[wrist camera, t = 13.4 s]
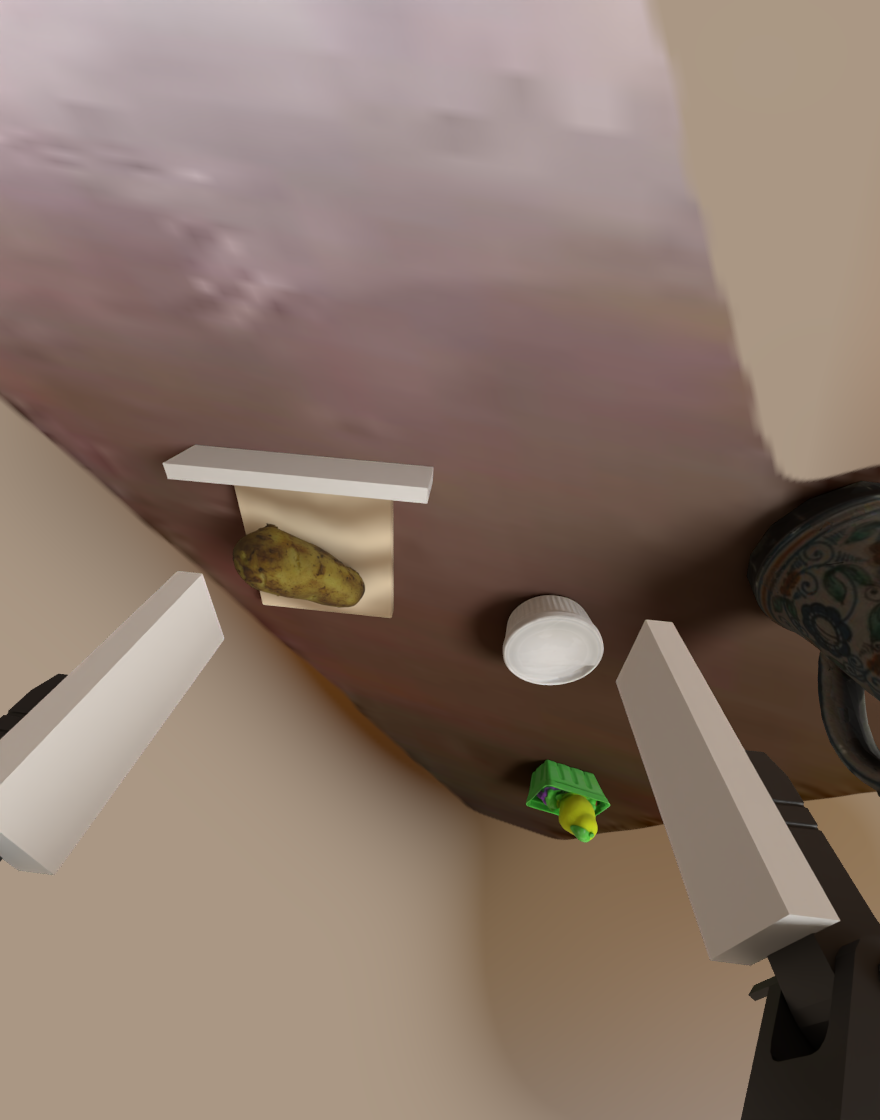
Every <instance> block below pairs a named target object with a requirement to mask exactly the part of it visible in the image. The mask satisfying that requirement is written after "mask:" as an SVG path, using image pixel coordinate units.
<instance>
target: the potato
mask: <svg viewBox="0 0 880 1120" xmlns="http://www.w3.org/2000/svg"><path fill="white" fill-rule="evenodd" d="M266 524H267V526H265V527H263V528H259V529H258V530H256V531H254V532H252V533H249V534H247V535H245V536H244V537H243V538H241V539H240V540H239V541H238V543H237V544H236V545H235V547H234V549H233V561H234V564H235V568H236V570H237V572H238V574H239V575H240V577H241V578H242V579H243V580H244V581H245V582H246V583H247V584H249V585H250V586H251V587H253V588H255V589H257V590H258V591H263V592H266V593H270V594H274V595H277V596H283V597H287V598H294V599H302V600H308V601H311V602H315V603H318V604H321V605H326V606H332V607H338V608H341V607H352V606H355V605H356V604H357V603H358V602H359V601H360V600H361V598H362V597H363V595H364V593H365V584H364V581H363V579H362V578H361V576H360V575H359V573H358V572H356V570H354V569H352V568H351V567H347V566H345V565H344V564H343V562H341V561H339V560H338V559H336V558H335V557H334V556H333V555H331V554H330V553H328V552H327V551H325V550H324V549H322V548H320V547H318V546H316V545H314V544H311V543H309V542H306V541H304V540H302V539H300V538H298V537H295V536H293V535H291V534H289V533H287V532H285V531H282V530H280V529H278V527H277V526H276V525H274V524H268V523H266Z"/></svg>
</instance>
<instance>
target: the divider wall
mask: <svg viewBox="0 0 880 1120" xmlns="http://www.w3.org/2000/svg"><path fill="white" fill-rule="evenodd" d="M163 466H164V469H165V472H166V475H167V478H168V479H176V480H186V481H197V482H207V483H218V484H228V485H239V486H249V487H259V488H270V489H280V490H291V491H301V492H312V493H322V494H333V495H343V496H354V497H364V498H374V499H385V500H395V501H406V502H416V503H427V502H428V498H429V494H430V490H431V486H432V482H433V467H429V466H418V465H408V464H397V463H386V462H375V461H364V460H354V459H343V458H332V457H321V456H310V455H300V454H289V453H278V452H267V451H256V450H246V449H235V448H224V447H213V446H202V445H194V446H192V447H190V448H188V449H187V450H185V451H183V452H181V453H180V454H178V455H176V456H174V457H173V458H171V459H169V460H167V461H166V462H164V463H163Z"/></svg>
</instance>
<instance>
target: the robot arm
mask: <svg viewBox="0 0 880 1120" xmlns="http://www.w3.org/2000/svg"><path fill="white" fill-rule="evenodd" d="M223 640H224V636H223V633H222V630H221V627H220V624H219V621H218V618H217V615H216V612H215V610H214V606H213V604H212V601H211V597H210V595H209V592H208V589H207V586H206V583H205V580H204V577H203V574H201V573H190V572H181V571H177V572H176V573H175V574H174V575H173V576H172V577H171V578H170V579H169V580H168V581H167V582H166V583H165V584H163V585H162V586H161V588H159V590H157V591H156V592H155V593H154V594H153V595H152V596H151V597H150V598H149V599H148V600H147V601H146V602H145V603H144V604H142V605H141V606H140V607H139V608H138V609H137V610H136V611H135V612H134V613H133V614H132V615H131V616H130V617H129V618H128V619H127V620H126V621H125V622H123V623H122V624H121V625H120V626H119V627H118V628H117V629H116V630H115V631H114V632H113V633H112V634H111V635H110V636H109V637H108V638H107V639H106V640H105V641H103V643H101V644H100V645H99V646H98V647H97V648H96V649H95V650H94V651H93V652H92V653H91V654H90V655H89V656H88V657H87V658H86V659H85V660H84V661H82V662H81V663H80V664H79V665H78V666H77V667H76V668H75V669H74V670H73V671H72V672H71V673H70V674H69V675H64V674H57V675H56V676H54V677H52V678H51V679H49V680H47V681H46V682H44V683H43V684H41V685H39V686H37V687H36V688H34V689H32V690H31V691H30V692H29V693H28V694H26V695H25V696H24V697H23V698H22V699H21V700H20V701H19V702H18V703H16V704H15V705H14V706H13V707H12V708H11V709H10V710H9V711H8V714H7V715H3V716H2V717H1V718H0V861H1V860H2V859H3V860H5V861H6V862H7V863H9V864H10V865H12V866H13V867H15V868H16V869H17V870H19V871H27V872H34V873H42V874H50V875H55V873H56V872H57V871H58V869H59V868H60V866H61V865H62V864H63V862H64V861H65V860H66V858H67V857H68V855H69V854H70V853H71V851H72V850H73V848H74V847H75V846H76V844H77V843H78V842H79V840H80V839H81V837H82V836H83V835H84V833H85V832H86V831H87V829H88V828H89V826H90V825H91V824H92V822H93V821H94V819H95V818H96V817H97V815H98V814H99V812H100V811H101V810H102V808H103V807H104V806H105V804H106V803H107V801H108V800H109V799H110V797H111V796H112V794H113V793H114V792H115V790H116V789H117V787H118V786H119V785H120V783H121V782H122V781H123V779H124V778H125V776H126V775H127V774H128V772H129V771H130V769H131V768H132V767H133V765H134V763H136V761H137V760H138V758H139V757H140V756H141V754H142V753H143V751H144V750H145V749H146V747H147V746H148V744H149V743H150V742H151V740H152V739H153V738H154V736H155V735H156V733H157V732H158V731H159V729H160V728H161V726H162V725H163V724H164V722H165V721H166V719H167V718H168V717H169V715H170V714H171V712H172V711H173V710H174V708H175V707H176V706H177V704H178V703H179V701H180V700H181V699H182V697H183V696H184V694H185V693H186V692H187V690H188V689H189V688H190V686H191V685H192V683H193V682H194V680H195V679H196V678H197V676H198V675H199V674H200V672H201V671H202V669H203V668H204V667H205V665H206V664H207V663H208V661H209V660H210V658H211V657H212V656H213V654H214V653H215V651H216V650H217V649H218V647H219V646H220V644H221V643H222V642H223ZM616 683H617V686H618V689H619V692H620V695H621V698H622V701H623V704H624V707H625V710H626V713H627V716H628V719H629V722H630V725H631V728H632V731H633V734H634V737H635V739H636V742H637V745H638V748H639V751H640V754H641V757H642V760H643V763H644V766H645V769H646V772H647V775H648V778H649V781H650V784H651V787H652V790H653V793H654V796H655V799H656V802H657V805H658V808H659V810H660V813H661V816H662V819H663V822H664V825H665V828H666V831H667V834H668V837H669V840H670V843H671V846H672V849H673V852H674V855H675V858H676V861H677V864H678V867H679V869H680V873H681V876H682V879H683V881H684V884H685V887H686V890H687V893H688V896H689V899H690V902H691V905H692V908H693V911H694V914H695V917H696V920H697V923H698V926H699V929H700V932H701V934H702V938H703V940H704V944H705V946H706V949H707V952H708V955H709V958H710V960H712V961H719V962H728V963H735V964H743V965H753V964H755V963H757V962H759V961H760V960H763V959H765V958H767V957H768V960H769V962H770V964H771V967H772V969H773V971H774V974H775V976H774V977H772V978H770V979H767V980H765V981H763V982H760V983H758V984H756V985H754V987H753V988H752V990H751V992H750V993H749V996H751V998H752V999H754V1000H755V1001H756V1000H759V999H761V998H764V997H766V996H767V999H766V1004H765V1009H764V1013H763V1018H762V1023H761V1028H760V1032H759V1037H758V1042H757V1046H756V1051H755V1056H754V1060H753V1065H752V1070H751V1074H750V1079H749V1084H748V1088H747V1093H746V1098H745V1103H744V1107H743V1112H742V1117H741V1120H880V924H879V922H878V921H877V919H876V918H875V917H874V915H873V913H872V912H871V910H870V908H869V907H868V905H867V904H866V902H865V900H864V899H863V897H862V896H861V894H860V893H859V891H858V889H857V888H856V886H855V884H854V883H853V881H852V879H851V878H850V876H849V875H848V873H847V871H846V870H845V868H844V867H843V865H842V863H841V862H840V860H839V859H838V857H837V855H836V854H835V852H834V850H833V849H832V847H831V846H830V844H829V843H828V841H827V839H826V838H825V836H824V834H823V833H822V831H819V830H818V828H817V823H816V822H815V820H814V818H813V817H812V815H811V813H810V812H809V810H808V809H807V808H805V807H804V805H803V803H804V802H803V801H802V799H801V797H800V796H799V794H798V792H797V791H796V789H795V788H794V786H793V784H792V783H791V781H790V780H789V778H788V776H787V775H786V774H785V773H784V772H783V771H782V770H781V769H780V768H779V767H778V766H777V765H776V764H775V763H774V762H773V761H772V760H771V759H770V758H769V757H768V756H767V755H766V754H765V753H764V752H755V751H747V750H744V748H743V747H742V745H741V743H740V741H739V740H738V738H737V736H736V734H735V732H734V731H733V729H732V727H731V725H730V724H729V722H728V720H727V718H726V717H725V715H724V713H723V711H722V709H721V708H720V706H719V704H718V702H717V701H716V699H715V697H714V695H713V693H712V692H711V690H710V688H709V686H708V685H707V683H706V681H705V679H704V677H703V676H702V674H701V672H700V670H699V669H698V667H697V665H696V663H695V661H694V660H693V658H692V656H691V654H690V653H689V651H688V649H687V647H686V645H685V644H684V642H683V640H682V638H681V637H680V635H679V633H678V631H677V630H676V628H675V626H674V624H673V622H665V621H656V620H645V622H644V624H643V626H642V628H641V630H640V632H639V634H638V636H637V638H636V640H635V643H634V645H633V647H632V649H631V651H630V653H629V655H628V657H627V659H626V661H625V663H624V666H623V668H622V670H621V672H620V674H619V676H618V678H617V680H616Z"/></svg>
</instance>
